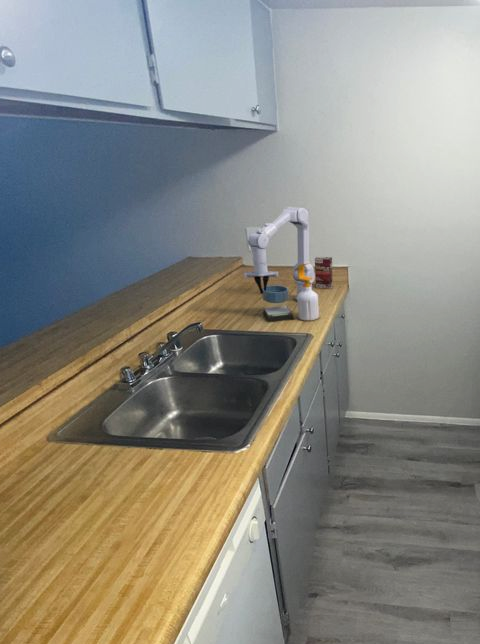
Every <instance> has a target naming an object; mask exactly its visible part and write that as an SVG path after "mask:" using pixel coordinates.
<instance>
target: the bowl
mask: <svg viewBox="0 0 480 644" xmlns="http://www.w3.org/2000/svg"><path fill="white" fill-rule="evenodd" d="M261 295H262V300H263V301H265V302H267V303H271V304H281V303H282V304H283V303H285V302H287V301H289V297H290V296H289V295H290V294H289V287H287V286H283V285H277V284H275V285H274V284H273V285H272V284H271V285H267V286H266V291H265V290H264V286H262V294H261Z"/></svg>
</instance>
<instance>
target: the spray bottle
mask: <svg viewBox="0 0 480 644" xmlns="http://www.w3.org/2000/svg"><path fill="white" fill-rule="evenodd" d="M307 264H312V262H310V261H309V263H306V264H302V265H299V266H298V278H299V279H300V280H303V281H304V282H305V284H304V285H303V291H302V292H300V293H299V294H298V296H297V295H296V297H297V300H296V301H297V312H298V313H297V314H298V319H299V320H301V321H305V322H308V321H309V322H310V321H316V320H317V319H319V317H320V311H319V295H318V294H317V292H315V291H314V290H313V289H312V290H311V285H310V284H309V282H310V280H312V279H313V278H310V277H305V273H304V266H305V265H307Z"/></svg>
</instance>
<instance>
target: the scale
mask: <svg viewBox="0 0 480 644" xmlns="http://www.w3.org/2000/svg"><path fill="white" fill-rule="evenodd" d="M262 310H263V311H262V313H263V315H264V317H265V319H266V320H267V322H269V323H272V322H273V323H274V322H280V321H288V320H289V321H290V320H294V314H293V312H292V311H291V309H289V307H288V306H287V305H282V306H281V305H280V306H273V307H271V306H270V307H263V308H262Z"/></svg>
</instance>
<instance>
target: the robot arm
mask: <svg viewBox="0 0 480 644" xmlns="http://www.w3.org/2000/svg"><path fill="white" fill-rule="evenodd" d="M288 223H291V224H292V225H293V226H295V228H296V230H297V232H296V233H297V236H296V237H297V263H295V265H293V272H292V279H293V280H294V281H295V284H296V287H295V288H296V296H295V297H294V298H295V300H296V301H297V296H298V294H299V293H300V292H302V291H303V285H304V284H305V282H304V281H303V280H300V279H299V278H298V266H299V265H302V264H306V263H310V222H309V211H308V210H307V209H306V208H304V207H295V206H289V205H288V206H286V207H284V208H283V209H282V211H281V213H280V214H279V215H278V217H276V219H274V220H273V221H272V222H266V223H264V224H263V226H262V227H261V228H260V229H258V230H256V232H253V233H251V234H250V235H249V237H248V240H247V244H248V245H249V247H250V251H251V254H252V262H253V271H248V272H247V271H245V272H244V274H243V277H244V279H247V278H254V281H255V283H256V285H257V288H258V289H259V293H260V295H262V288H263V287H264V290H265V291H266V286H268V282H269V279H270V278H278V277H279V271H273V270H272V271H269V269H268V262H267V261H268V260H267V251H266V248H267V247H268V245H269V242H270V240H271V239H273V238H274V237H275V236H276V235H277V234H278V230H279V229H281V228H282V227H284V226H285V225H286V224H288ZM304 273H305V277H310V278H313V279H312V280H310V282H309V284H310V285H311V290H312V291H313V284H314V281H315V280H316V277H315V267H314V266H313V265H312V263H310V264H307V265H305V266H304ZM262 284H263V286H262Z"/></svg>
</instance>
